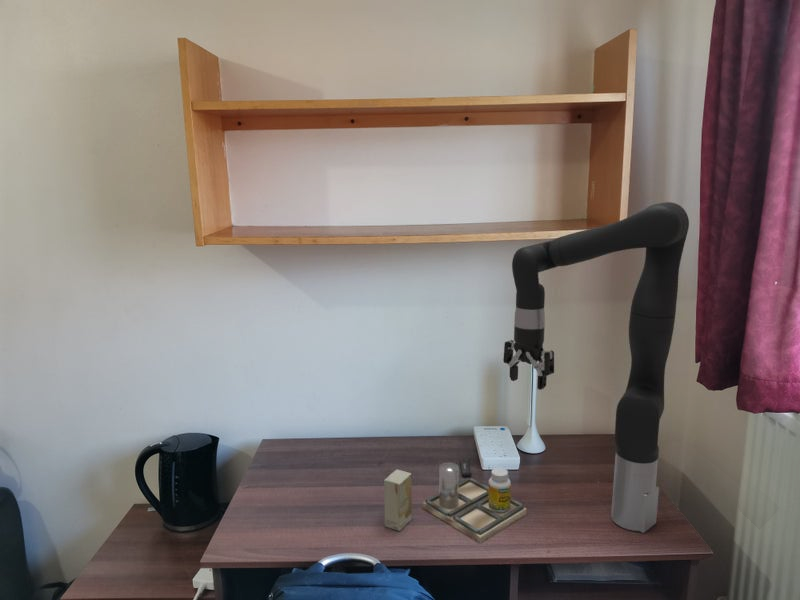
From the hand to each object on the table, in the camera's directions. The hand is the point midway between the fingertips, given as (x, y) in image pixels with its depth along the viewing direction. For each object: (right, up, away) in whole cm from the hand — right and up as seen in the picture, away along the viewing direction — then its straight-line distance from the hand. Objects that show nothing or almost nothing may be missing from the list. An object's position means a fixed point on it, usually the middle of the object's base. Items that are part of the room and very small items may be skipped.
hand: (527, 384), depth 153 cm
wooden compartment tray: (-15, -31, -7) cm, 34 cm away
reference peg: (-21, -29, -6) cm, 36 cm away
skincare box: (-33, -32, -11) cm, 47 cm away
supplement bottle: (-9, -29, -8) cm, 31 cm away
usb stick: (-15, -27, +14) cm, 33 cm away
